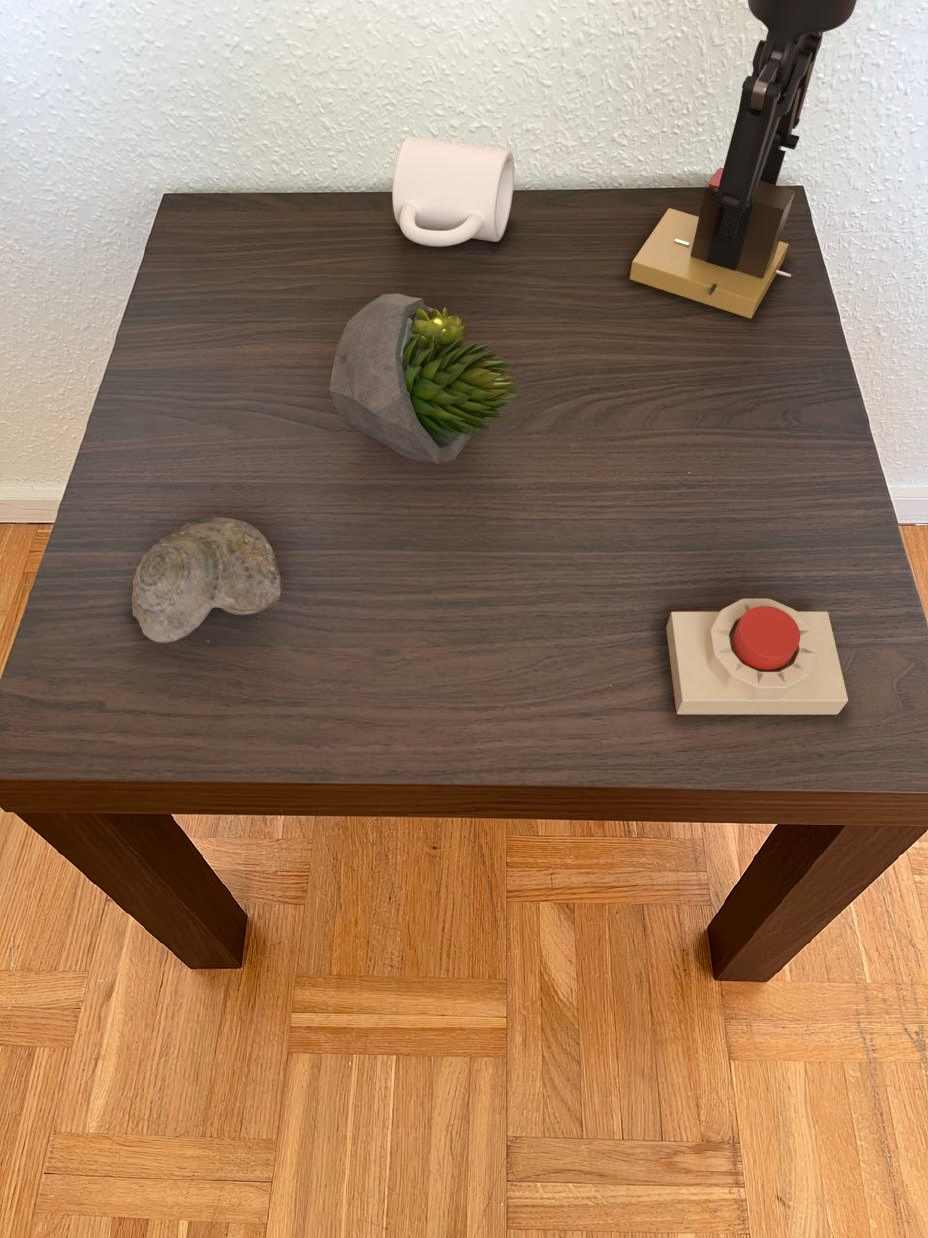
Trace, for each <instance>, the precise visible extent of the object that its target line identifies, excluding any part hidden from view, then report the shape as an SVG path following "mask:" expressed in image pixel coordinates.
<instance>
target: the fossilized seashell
mask: <svg viewBox="0 0 928 1238" xmlns="http://www.w3.org/2000/svg"><path fill="white" fill-rule="evenodd" d="M132 588H133V589H132V592H131V593H132V594H131V610H132V611H131V612H132V616H133V618H136V620H137V622H138V625H139V627H141V631H142V634H143V635H144V636H146V637H147V638H148V639H149V640H151V641H153V642H155V643H160V644H168V643H173V642H177V641H179V640H182V639H184V638H186V637H187V636H189V635H190V634H191V633H193V632H194V631H195V630H196V629H197V628H198V627H200V626H201V625H202V623H203V622H204V621H205V620H206V618H207V617H208V616H209V615H210V613H211V611H212V609H214V608H215V609H216V608H218V609H221V610H222V611H224V612H225V613H228V614H232V615H236V616H247V615H253V614H256V613H260V612H264V611H265V610H268V609H269V608H271V607H273V606H274V605H275V604H277V602H279V601H280V600H281V599H282V596H283V590H282V589H283V588H282V577H281V572H280V568H279V563H278V560H277V558H276V554H275V552H274V549H273V547H272V546H271V543H270V542H269V541H268V540H267V538H266V537H265V536H264V535H263V534H262V532H260V531H259V529H257V528H256V527H254V526H253V525H251V524H250V523H248V522H247V521H244V520H238V519H235V518H229V517H224V516H223V517H210V518H204V519H201V520H196V521H195V522H188V523H187V524H185V525H182V526H181V527H180V526H179V528H177V529H175V530H173V531H172V532H171V533H169V534H168V535H167V536H165V538H160V540H159V542H157V543H155V544H154V545H152V547H151V548H150V549H149V551H147V552H146V553H145V554H144V555H143V557H142V559H141V561H140V564H138V565H137V566H136V570H135V575H134V578H133V580H132Z"/></svg>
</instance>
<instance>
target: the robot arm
mask: <svg viewBox="0 0 928 1238" xmlns="http://www.w3.org/2000/svg"><path fill="white" fill-rule="evenodd" d="M857 1H858V0H747V5H748V8H749V10H750V12H751V15H753V17H754V18H755V19H757V21H760V22H761V23H762V24H763V25H764V26H765V27H766V29H767V33H766V37H765V39H760V40H759V42H758V44H757V46H756V49H755V52H754V55H753V59H752V63H751V65H752V68H753V69H752V73H751V75H747V76H746V78H745V80H743V82H742V85H741V89H742V90H741V95H740V100H739V106H738V111H737V115H736V118H735V123H734V126H733V131H732V134H731V138H730V142H729V146H728V149H727V154H726V157H725V160H724V165H723V167H722V168H723V172H722V176H721V180H720V183H719V187H718V188H716V189H714V191H713V192H712V197H714V198H715V201H714V203H715V205H719V211H718V215H717V219H716V223H715V227H714V231H713V235H712V239H711V244H710V248H709V252H708V256H707V260H706V262H708V263H711V264H714V265H717V266H720V267H724V268H727V269H730V270H733V271H735V270H736V269H737V267H738V264H739V261H740V257H741V253H742V250H743V246H744V243H745V239H746V236H747V232H748V228H749V225H750V221H751V218H752V214H753V210H754V207H755V203H756V200H757V199H755V197H754V195H755V192H756V189H757V186H758V183H759V180H760V181H763V182H767V183H770V184H774V185H777V183H778V180H779V176H780V173H781V170H782V166H783V162H784V159H785V156H786V152H787V151H786V150H784V149H782V148H786V149H790V150H796V148H797V145H798V143H799V140H800V135H796V134H793V130H796V128H797V127H798V126H799V124H800V122H801V119H800V117H801V113H802V110H803V107H804V104H805V103H804V102H805V99H806V95H807V92H808V88H809V86H810V85H809V84H810V82H811V81H810V80H811V77H812V74H813V70H814V68H815V63H816V59H817V56H818V53H819V51H820V48H821V45H822V41H823V35H824V33H826V32H830V31H833V30H835V29H837V28H839V27H841V26H842V25H844V24H845V23H847V22H848V20H849V19H850V18H851V16H852V15H853V13H854V11H855V8H856V4H857Z"/></svg>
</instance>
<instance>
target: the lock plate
mask: <svg viewBox="0 0 928 1238" xmlns="http://www.w3.org/2000/svg"><path fill="white" fill-rule="evenodd" d="M698 219H699V216H697V215H694V214H690V213H687V212H685V211H681V210H677V209H674V208H670V207H668V209H667V210H666V212H665V213H664V215H663V216H662V217H661V219H660V220H659V222H658V223H657V225H656V226H655V228H654V229H653V230H652V232H651V234H649V236H648V238H647V239H646V240H645V242H644V244H643V245H642V247H641V248H640V250H639V251H638V253H637V254H636V255H635V257H634V259H632V262H631V267H630V273H629V280H631V281H634V282H637V283H640V284H643V285H645V286H650V287H652V288H654V289H655V288H656V289H659V290H660V291H661V290H662V291H665V292H667V293H671V294H673V295H676V296H680V297H683V298H686V299H690V300H692V301H696V302H698V303H702V304H704V305H708V306H711V307H714V308H717V309H720V310H723V311H725V312H729V313H732V314H734V315H738V316H740V317H743V318H748V319H750V320H751V319H752V318H753V316H754V315H755V313H756V311H757V310H758V308H759V306H760V304H761V302H762V301H763V298H764V297H765V295H766V293H767V291H768V290H769V288H770V286H771V284H772V283H773V281H774V279H775V277H776V275H778V276H782V277H784V278H788V279H791V277H792V274H791V273H788V272H784V271H781V270H780V268H781V266H782V264H783V262H784V261H785V256H786V254H787V251H788V249H789V243H787V242H784V241H781V240H780V241H779V244H778V247H777V250H776V254H775V257H774V260H773V262H772V264H771V265H770V267H769V269H768V271H767V272H766V274H765V276H764V278H763V279H761V278H758V277H755V276H752V275H748V274H745V273H742V272H739V271H736V270H735V271H733V270H730V269H727V268H724V267H720V266H717V265H714V264H711V263H708V262H706V261H704V260H701V259H697V258H694V257H691V256H690V255H691V251H692V246H693V242H694V237H695V233H696V228H697V224H698Z"/></svg>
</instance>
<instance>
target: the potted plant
mask: <svg viewBox="0 0 928 1238" xmlns="http://www.w3.org/2000/svg"><path fill="white" fill-rule="evenodd" d="M447 308H448V307H446V306H445V307H443V310H442V314H441V312H440V311H439V310H437V309H436V308H432V307H429V306H426V304H425V302H424V298H422V297H414V296H409V295H406V294H402V293H387V294H382V295H380V296H378V297H377V298H375V299H374V300H372V301H370V302H369V303H367V304H366V305H364V307H363V308H361V309H360V310H359V311H358V312H357V313H356V314H354V315H353V317H351V318H350V319H349V320H348V321H347V323H346V325H345V327H344V330H343V332H342V335H341V337H340V339H339V342H338V345H337V347H336V348H335V354H334V360H333V364H332V371H331V377H330V382H329V388H328V391H329V394H330V398H331V400H332V402H333V406H334V407H335V411H336V414H337V417H338V420H340V421H341V422H343V423H345V424H347V425H349V426H350V427H352V428H354V429H355V430H357V431H359V432H360V433H362V434H364V435H366V436H368V437H370V438H371V439H374V441H377V442H378V443H380V444H382V445H384V446H386V447H387V448H389V449H391V450H393V451H394V452H396V453H397V454H399V455H400V456H401V457H403V458H404V459H407V460H408V459H409V460H412V461H413V460H414V461H421V462H424V463H430V464H442V463H447V462H452V461H455V460H456V458H457V457H458V456H459V454H461V451H462V450H463V449H464V448H465V446H466V444H467V443H468V442H469V440H470V439H471V437H473V436H476V437H477V436H478V434H476V433H475V432H480V431H481V430H484V431H490V432H493V430H492V429H491V428H489V427H488V426H487V425H485V424H484V423H494V421H493V420H507V419H508V420H509V419H510V417H509V416H505V414H507V412H504V411H499V410H497V409H502V408H504V407H508V406H511V403H512V402H513V401H512V400H509V399H512V398H515V397H518V396H519V395H518V394H515V393H516V392H519V391H521V390H522V388H517V387H516V386H517V385H519V382H513V381H511V379H515V378H516V377H515V376H512V375H508V374H506V373H510V372H511V370H510V369H507V368H508V367H510V366H511V365H512V364H513V362H505V361H504V360H501V359H503V358H504V357H502V356H499V357H495V356H496V355H497V354H498V353H491V352H492V351H490V350H489V351H485V350H486V349H487V348H488V346H490V345H491V344H492V342H489V343H485V344H484V343H483V344H481V345H479V342H474V343H471V344H468V345H465V346H463V347H462V345H463V343H464V340H465V338H466V336H467V333H468V330H467V329H466V326H465V325H464V323H463V321H462V318H460V317H458V316H457V315H451V316H450V313H449V310H448V309H447ZM477 345H478V346H477ZM502 414H504V415H502ZM490 419H491V420H490ZM483 422H484V423H483Z"/></svg>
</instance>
